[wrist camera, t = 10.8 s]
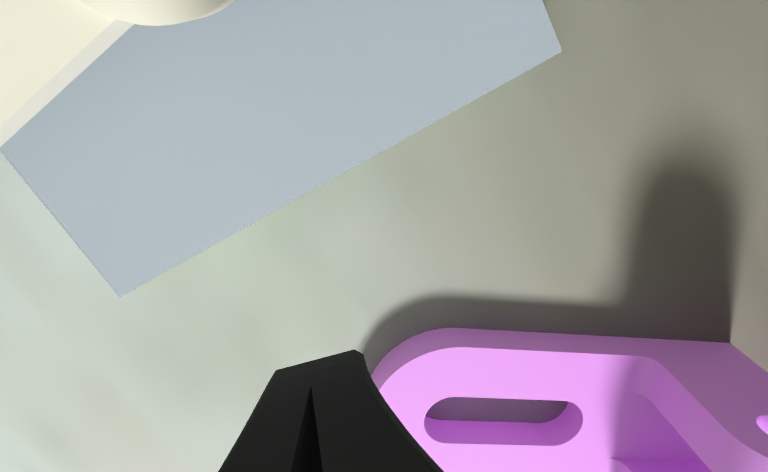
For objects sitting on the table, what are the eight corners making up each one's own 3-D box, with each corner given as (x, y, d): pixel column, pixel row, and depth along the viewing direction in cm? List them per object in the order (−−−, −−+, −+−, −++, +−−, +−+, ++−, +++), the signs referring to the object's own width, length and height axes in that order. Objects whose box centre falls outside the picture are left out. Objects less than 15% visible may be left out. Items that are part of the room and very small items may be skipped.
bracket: (727, 340, 23) (897, 478, 16) (682, 464, 24) (819, 631, 18) (374, 320, 20) (408, 470, 14) (355, 457, 22) (377, 644, 16)
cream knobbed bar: (171, -245, 12) (136, -310, 9) (308, -64, 13) (310, -78, 11) (-169, 92, 13) (-283, 115, 11) (-12, 224, 15) (-78, 272, 12)
